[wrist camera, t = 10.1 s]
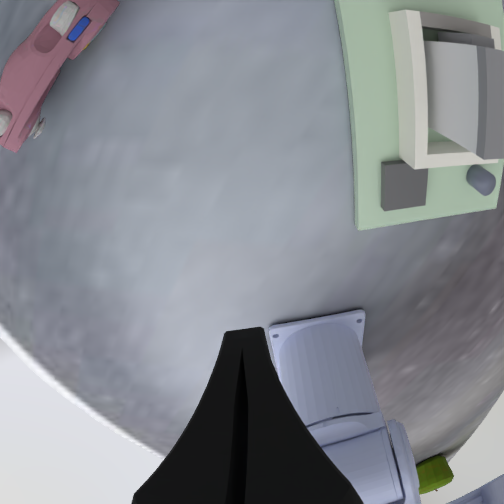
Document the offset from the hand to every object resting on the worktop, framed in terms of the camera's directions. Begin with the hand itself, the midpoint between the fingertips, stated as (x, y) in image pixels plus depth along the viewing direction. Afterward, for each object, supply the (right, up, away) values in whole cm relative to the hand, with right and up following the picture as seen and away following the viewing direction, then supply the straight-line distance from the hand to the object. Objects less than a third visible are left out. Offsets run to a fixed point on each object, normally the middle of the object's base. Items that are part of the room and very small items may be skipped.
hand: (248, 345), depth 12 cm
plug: (+11, +13, +2) cm, 17 cm away
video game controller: (-11, +15, +1) cm, 18 cm away
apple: (+51, -57, +55) cm, 94 cm away
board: (+11, +13, +4) cm, 17 cm away
